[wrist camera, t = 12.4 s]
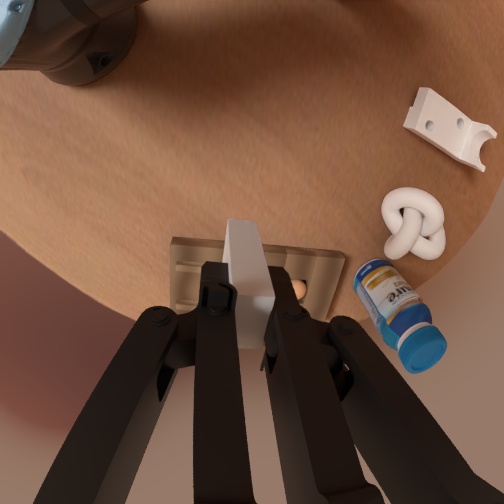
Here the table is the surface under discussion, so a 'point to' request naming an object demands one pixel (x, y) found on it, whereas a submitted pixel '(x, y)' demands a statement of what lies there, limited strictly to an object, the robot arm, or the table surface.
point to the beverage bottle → (399, 315)
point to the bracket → (447, 128)
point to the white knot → (413, 224)
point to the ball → (299, 288)
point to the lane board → (290, 258)
